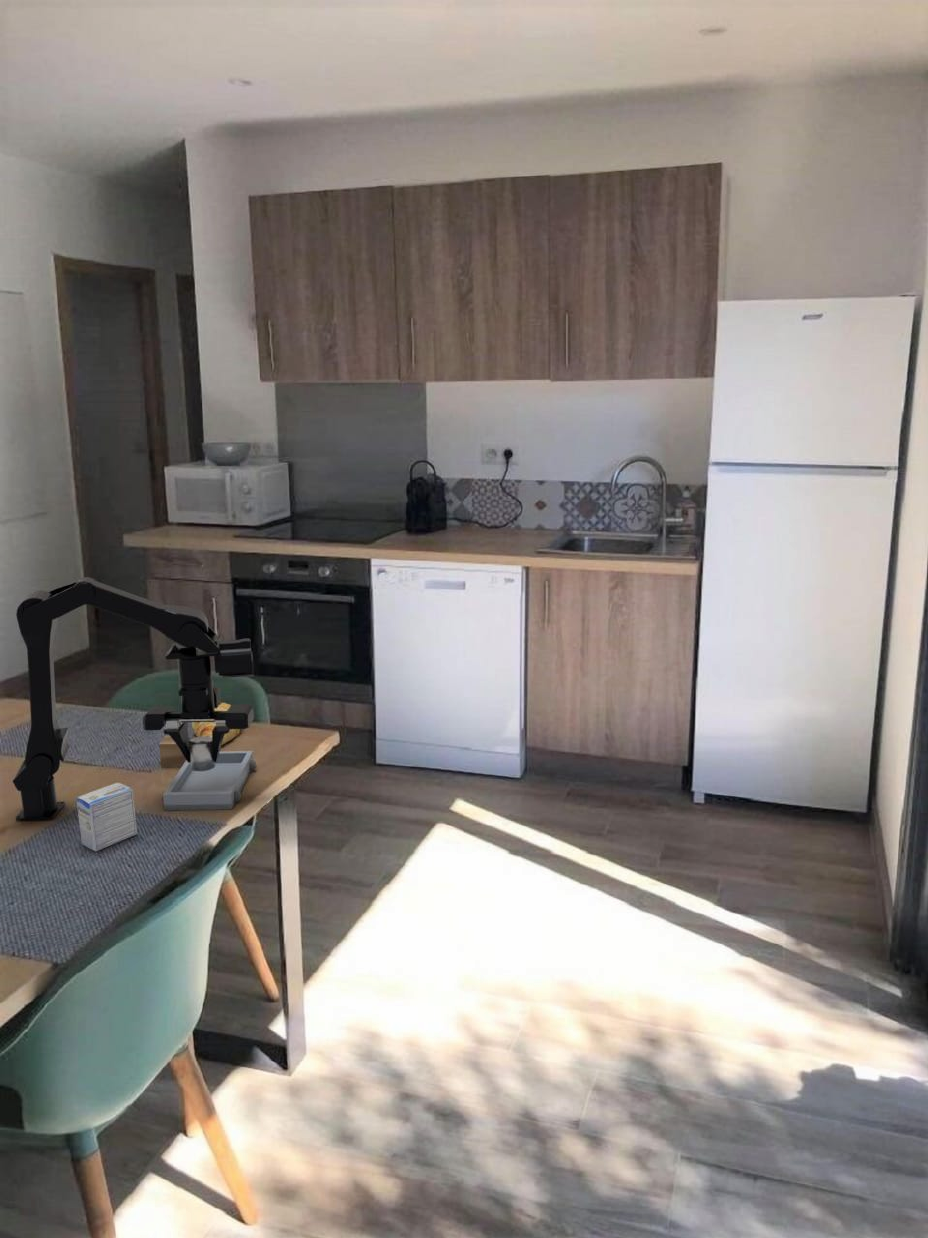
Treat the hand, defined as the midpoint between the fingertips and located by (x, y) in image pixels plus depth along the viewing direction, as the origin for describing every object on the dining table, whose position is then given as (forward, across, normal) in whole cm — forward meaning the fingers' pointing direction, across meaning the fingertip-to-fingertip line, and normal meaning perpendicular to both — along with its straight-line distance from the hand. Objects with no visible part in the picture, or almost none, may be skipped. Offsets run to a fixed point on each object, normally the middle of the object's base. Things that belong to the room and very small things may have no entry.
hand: (202, 761), depth 181 cm
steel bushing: (+1, 0, 0) cm, 1 cm away
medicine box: (+7, +12, +17) cm, 22 cm away
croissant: (+7, +5, -32) cm, 33 cm away
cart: (+7, 0, -4) cm, 8 cm away
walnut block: (+7, +10, -16) cm, 20 cm away
